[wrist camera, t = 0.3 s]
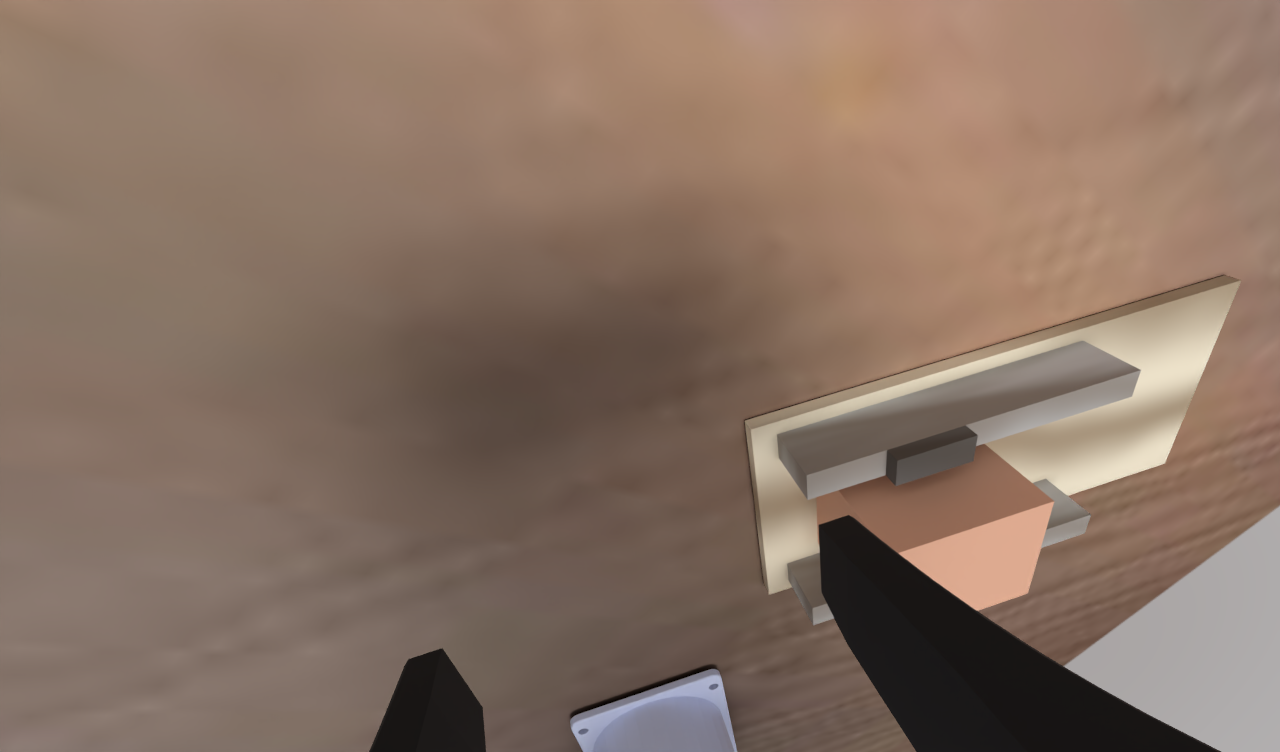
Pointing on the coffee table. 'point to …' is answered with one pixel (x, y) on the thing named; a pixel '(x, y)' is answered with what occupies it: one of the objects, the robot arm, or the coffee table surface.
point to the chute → (990, 422)
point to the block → (956, 525)
